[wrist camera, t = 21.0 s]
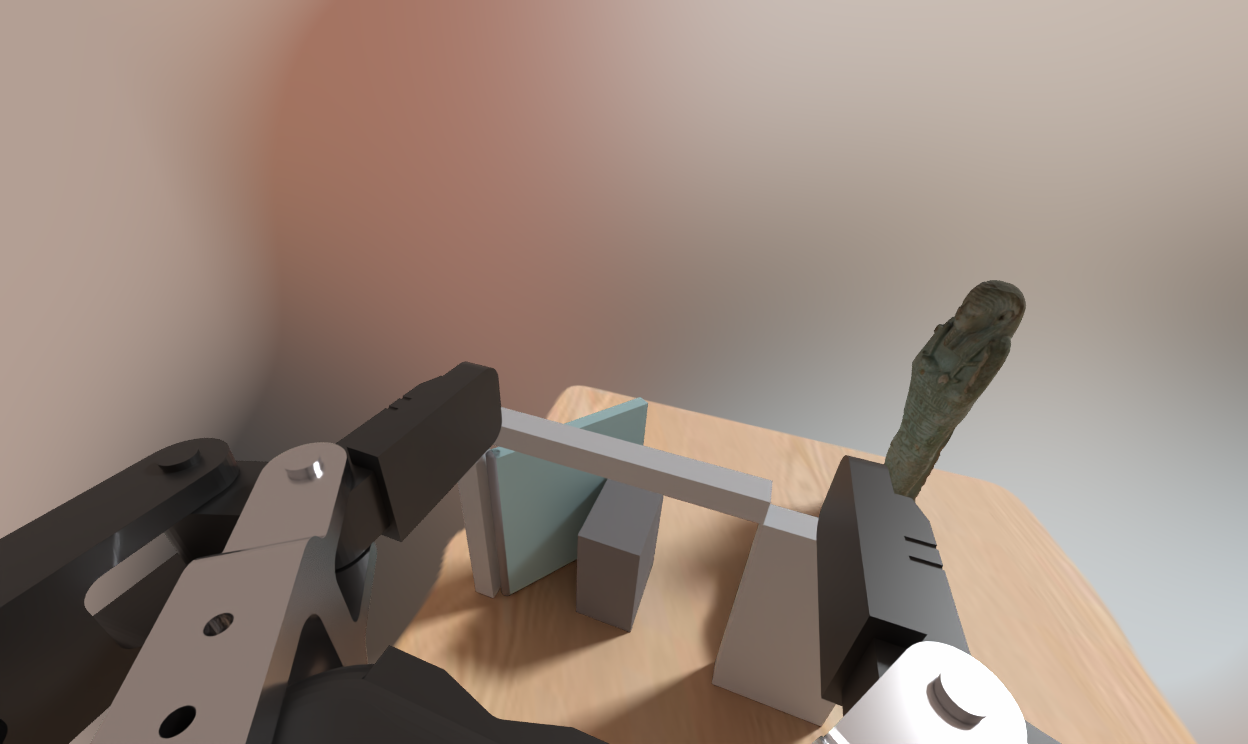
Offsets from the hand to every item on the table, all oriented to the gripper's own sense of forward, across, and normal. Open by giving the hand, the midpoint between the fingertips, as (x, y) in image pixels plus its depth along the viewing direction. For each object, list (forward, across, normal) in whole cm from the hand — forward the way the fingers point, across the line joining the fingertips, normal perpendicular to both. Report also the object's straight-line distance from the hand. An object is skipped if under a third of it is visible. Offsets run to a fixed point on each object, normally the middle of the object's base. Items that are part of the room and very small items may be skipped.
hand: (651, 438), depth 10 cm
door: (+21, -12, -36) cm, 43 cm away
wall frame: (+15, -2, -36) cm, 39 cm away
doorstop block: (+20, -6, -36) cm, 42 cm away
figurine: (+43, +22, -36) cm, 60 cm away
